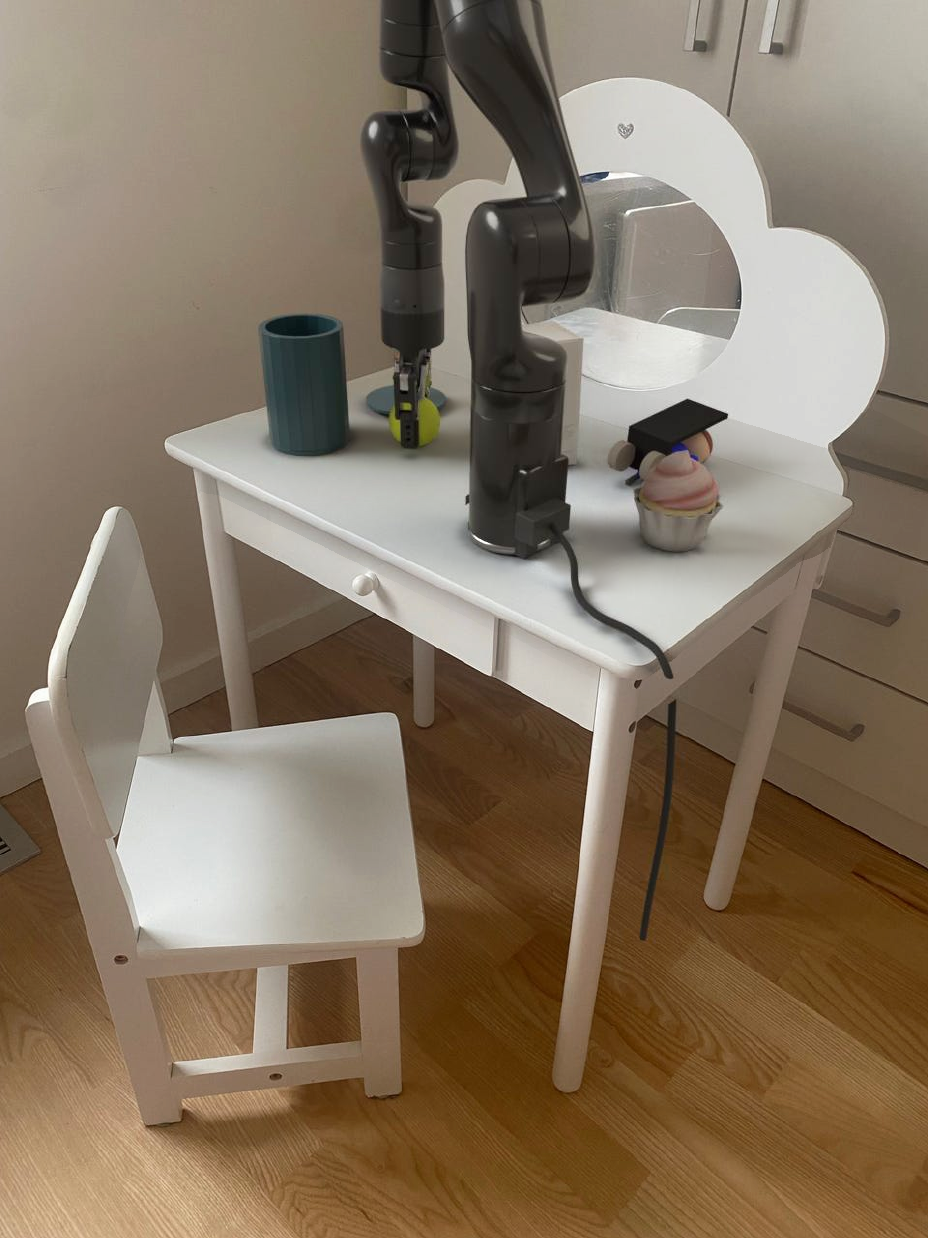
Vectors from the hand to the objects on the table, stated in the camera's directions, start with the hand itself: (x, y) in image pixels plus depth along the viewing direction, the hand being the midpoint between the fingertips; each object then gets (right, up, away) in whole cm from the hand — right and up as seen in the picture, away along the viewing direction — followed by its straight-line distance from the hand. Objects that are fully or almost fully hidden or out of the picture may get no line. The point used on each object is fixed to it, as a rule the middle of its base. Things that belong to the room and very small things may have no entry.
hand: (414, 436), depth 121 cm
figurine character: (+30, -6, -6) cm, 31 cm away
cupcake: (+28, -15, -19) cm, 37 cm away
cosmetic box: (+16, -3, -2) cm, 16 cm away
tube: (-13, 0, +1) cm, 13 cm away
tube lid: (-2, +7, +12) cm, 14 cm away
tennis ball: (0, +2, -1) cm, 2 cm away
